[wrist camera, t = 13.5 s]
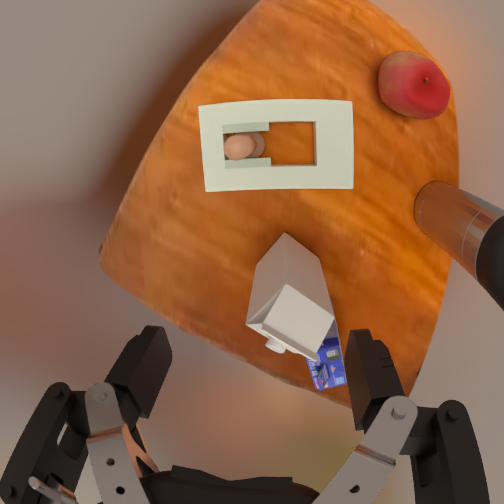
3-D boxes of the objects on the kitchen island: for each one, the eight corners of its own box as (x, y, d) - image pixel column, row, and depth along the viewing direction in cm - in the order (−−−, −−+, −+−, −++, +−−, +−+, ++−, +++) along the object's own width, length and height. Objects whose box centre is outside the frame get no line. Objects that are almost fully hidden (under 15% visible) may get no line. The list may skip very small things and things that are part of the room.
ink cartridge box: (298, 302, 46) (303, 365, 32) (330, 294, 44) (345, 355, 31) (311, 342, 49) (316, 403, 36) (338, 335, 48) (351, 395, 35)
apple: (432, 91, 28) (469, 86, 19) (404, 133, 32) (439, 136, 23) (385, 49, 27) (414, 30, 18) (354, 91, 31) (379, 79, 22)
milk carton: (284, 231, 40) (286, 306, 23) (319, 257, 42) (341, 342, 25) (256, 264, 43) (240, 349, 26) (290, 288, 45) (293, 377, 27)
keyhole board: (347, 103, 32) (351, 101, 29) (348, 185, 37) (353, 189, 34) (203, 107, 34) (198, 106, 31) (210, 188, 39) (205, 192, 36)
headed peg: (263, 127, 34) (258, 124, 24) (265, 159, 36) (260, 169, 26) (230, 129, 35) (212, 128, 25) (233, 161, 37) (215, 171, 27)
